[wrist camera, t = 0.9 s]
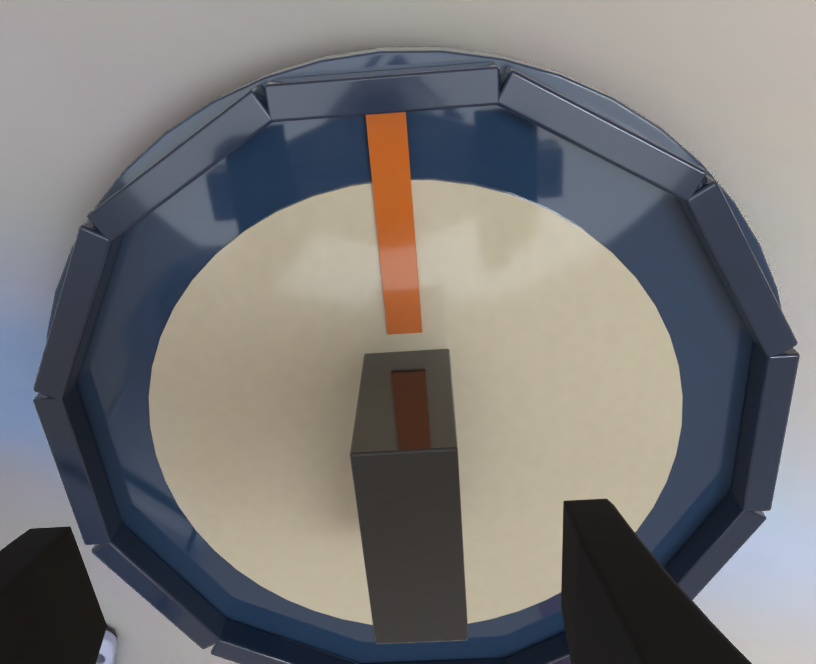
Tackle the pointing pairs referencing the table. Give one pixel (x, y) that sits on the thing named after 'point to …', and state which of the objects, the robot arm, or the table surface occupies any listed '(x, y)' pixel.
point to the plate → (409, 360)
